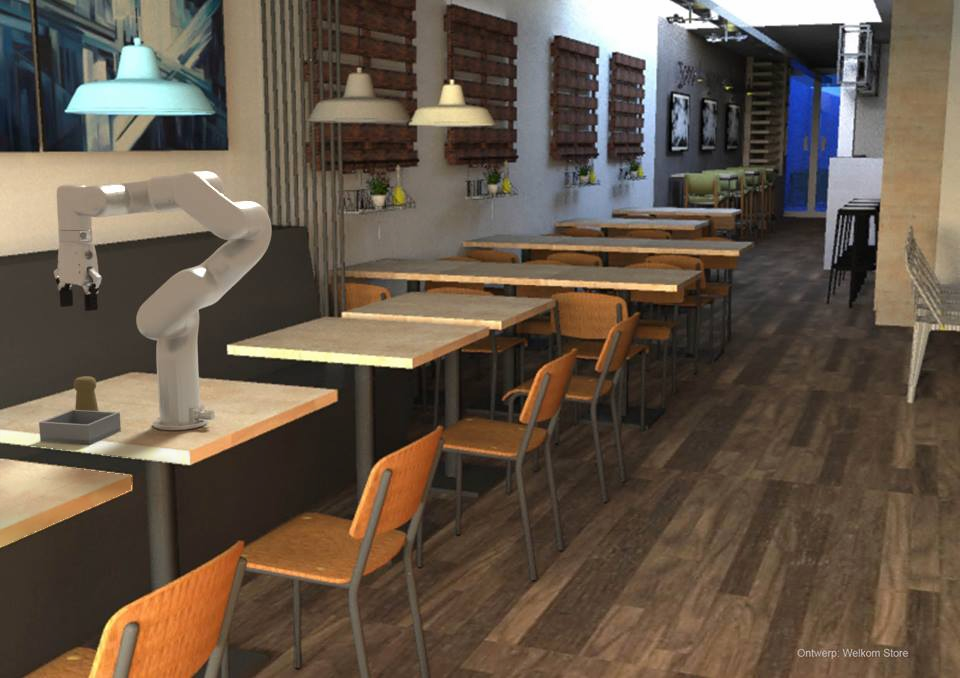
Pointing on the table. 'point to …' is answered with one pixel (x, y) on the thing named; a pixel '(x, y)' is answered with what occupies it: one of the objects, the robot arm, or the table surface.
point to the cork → (85, 393)
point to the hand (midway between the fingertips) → (78, 308)
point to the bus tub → (80, 427)
